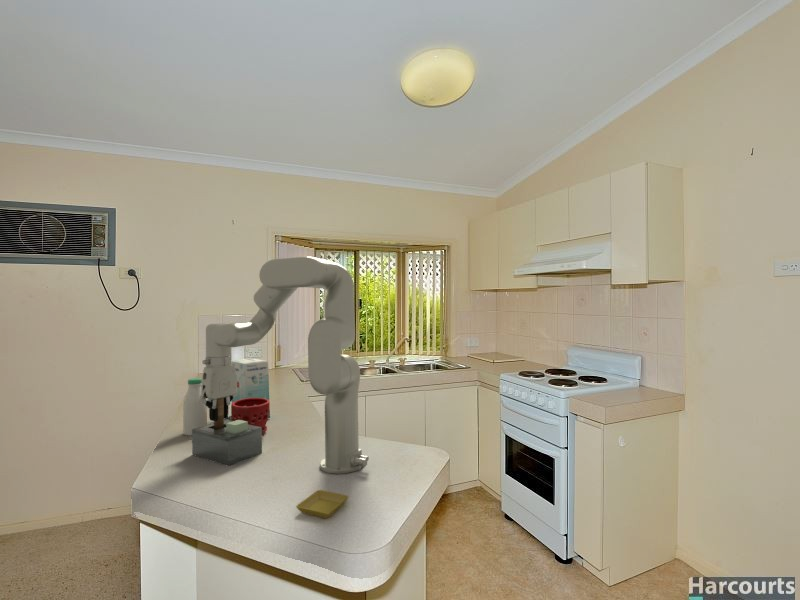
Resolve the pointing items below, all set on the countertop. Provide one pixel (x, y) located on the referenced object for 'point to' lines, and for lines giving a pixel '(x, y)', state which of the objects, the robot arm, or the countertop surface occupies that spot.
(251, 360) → the toothbrush box
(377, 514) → the countertop surface
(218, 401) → the stylus dowel
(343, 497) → the olive square dish
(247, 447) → the grey box
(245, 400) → the plant pot
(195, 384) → the milk bottle
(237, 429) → the on button
